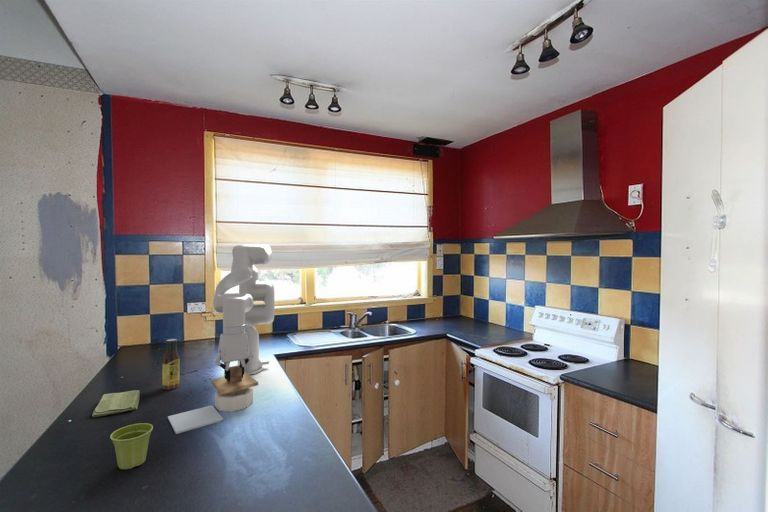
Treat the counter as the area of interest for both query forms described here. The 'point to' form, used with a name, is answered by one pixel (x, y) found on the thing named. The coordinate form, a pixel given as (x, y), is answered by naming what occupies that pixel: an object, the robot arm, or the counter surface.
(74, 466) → the counter surface
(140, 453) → the plant pot
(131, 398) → the washcloth
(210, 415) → the mat
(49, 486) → the counter surface
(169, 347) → the sauce bottle
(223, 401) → the bowl
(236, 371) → the lid
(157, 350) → the counter surface
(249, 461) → the counter surface
